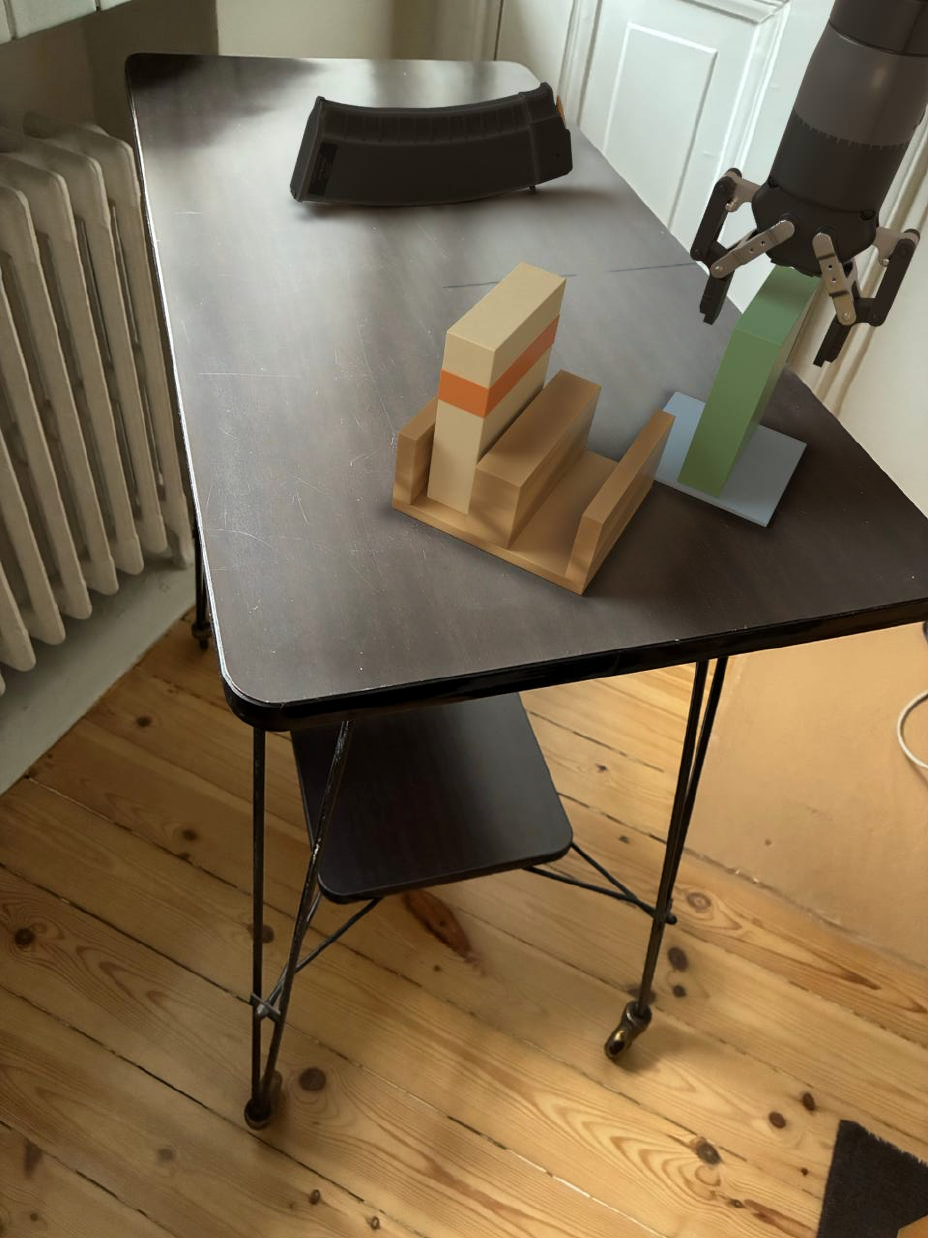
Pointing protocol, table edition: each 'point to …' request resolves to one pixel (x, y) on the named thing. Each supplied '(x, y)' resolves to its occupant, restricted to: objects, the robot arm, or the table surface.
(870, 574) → the table surface
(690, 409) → the felt pad
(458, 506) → the cream book
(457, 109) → the magazine
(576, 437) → the book rack
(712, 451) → the green book
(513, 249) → the table surface
